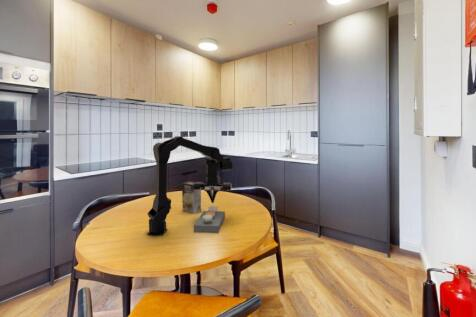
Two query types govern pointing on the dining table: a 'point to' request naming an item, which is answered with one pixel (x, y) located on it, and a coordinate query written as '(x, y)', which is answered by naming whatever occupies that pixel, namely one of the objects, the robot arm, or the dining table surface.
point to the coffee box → (191, 198)
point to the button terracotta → (211, 214)
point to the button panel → (210, 223)
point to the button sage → (207, 218)
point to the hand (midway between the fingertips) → (212, 202)
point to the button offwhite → (212, 209)
